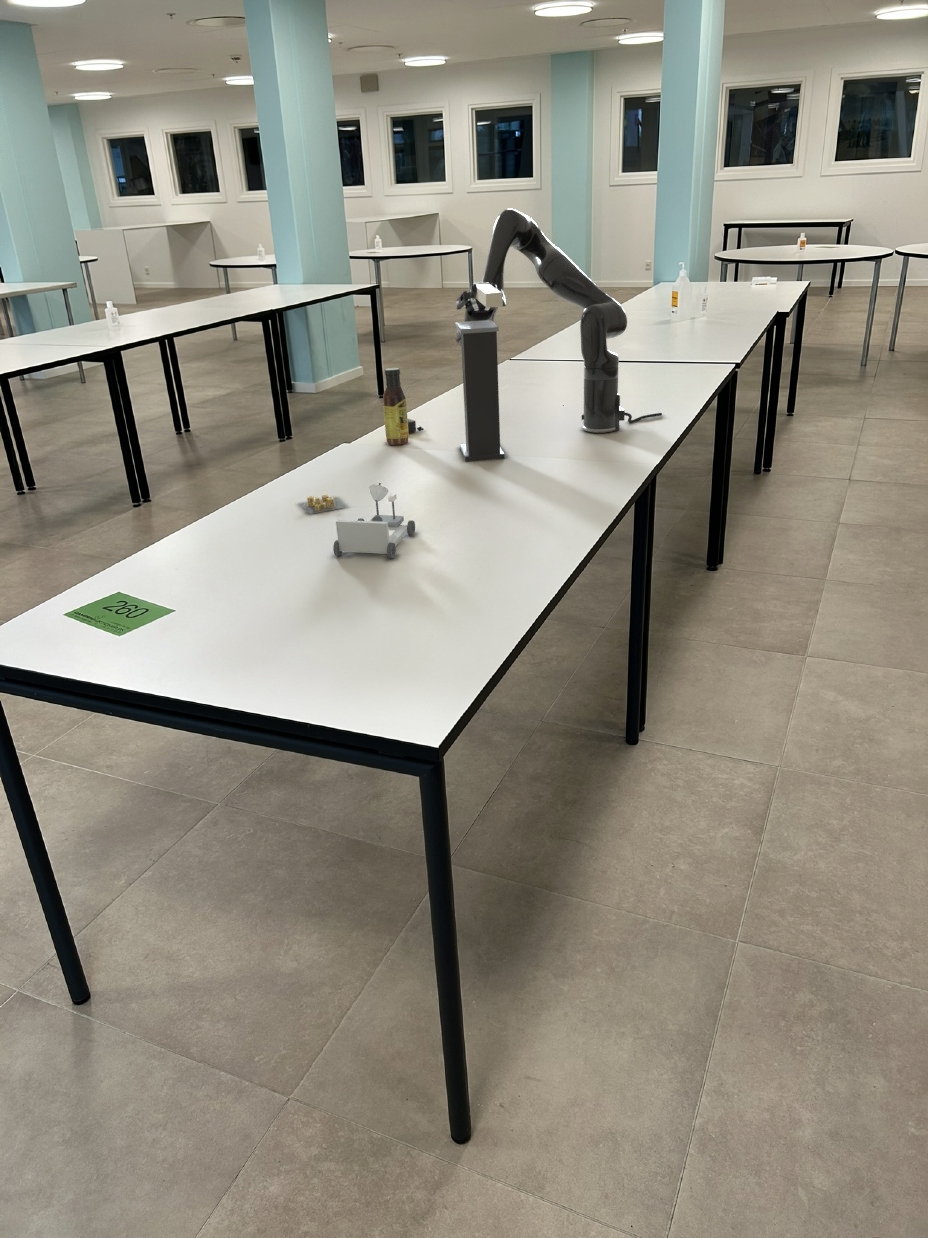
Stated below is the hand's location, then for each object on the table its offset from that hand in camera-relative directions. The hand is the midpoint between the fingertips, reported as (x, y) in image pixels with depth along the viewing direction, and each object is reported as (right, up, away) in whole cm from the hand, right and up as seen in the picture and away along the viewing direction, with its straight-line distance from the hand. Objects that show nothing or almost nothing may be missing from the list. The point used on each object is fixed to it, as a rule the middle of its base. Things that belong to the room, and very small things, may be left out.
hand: (484, 286), depth 230 cm
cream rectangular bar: (+1, -5, -4) cm, 6 cm away
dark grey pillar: (-1, -42, +2) cm, 42 cm away
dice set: (-37, -60, -31) cm, 77 cm away
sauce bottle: (-23, -37, +16) cm, 47 cm away
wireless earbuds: (-21, -32, +27) cm, 46 cm away
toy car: (-22, -70, -53) cm, 91 cm away
